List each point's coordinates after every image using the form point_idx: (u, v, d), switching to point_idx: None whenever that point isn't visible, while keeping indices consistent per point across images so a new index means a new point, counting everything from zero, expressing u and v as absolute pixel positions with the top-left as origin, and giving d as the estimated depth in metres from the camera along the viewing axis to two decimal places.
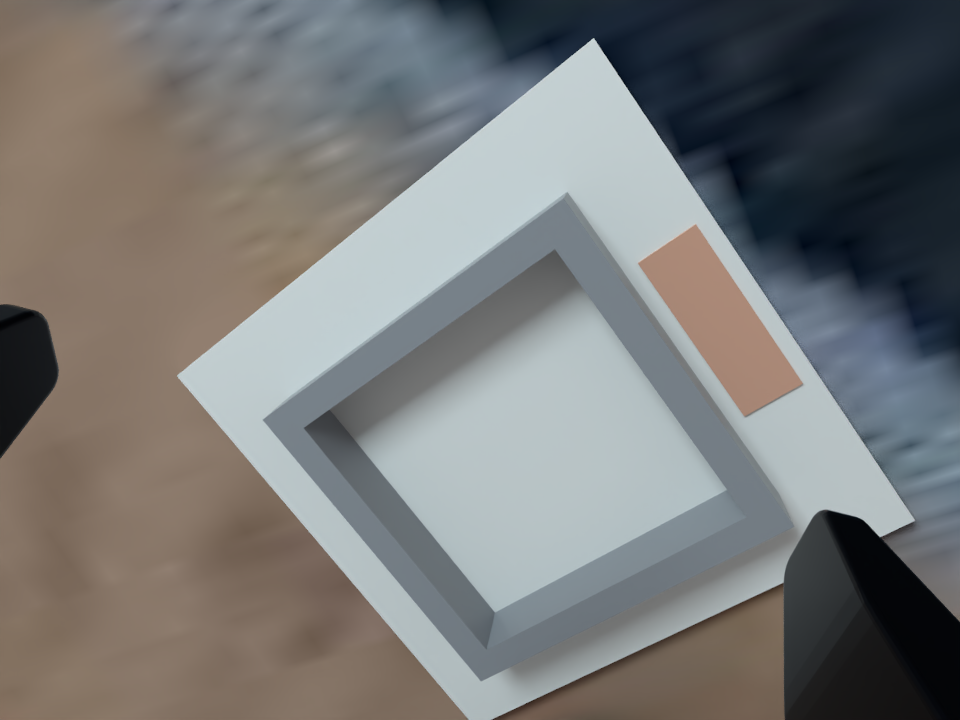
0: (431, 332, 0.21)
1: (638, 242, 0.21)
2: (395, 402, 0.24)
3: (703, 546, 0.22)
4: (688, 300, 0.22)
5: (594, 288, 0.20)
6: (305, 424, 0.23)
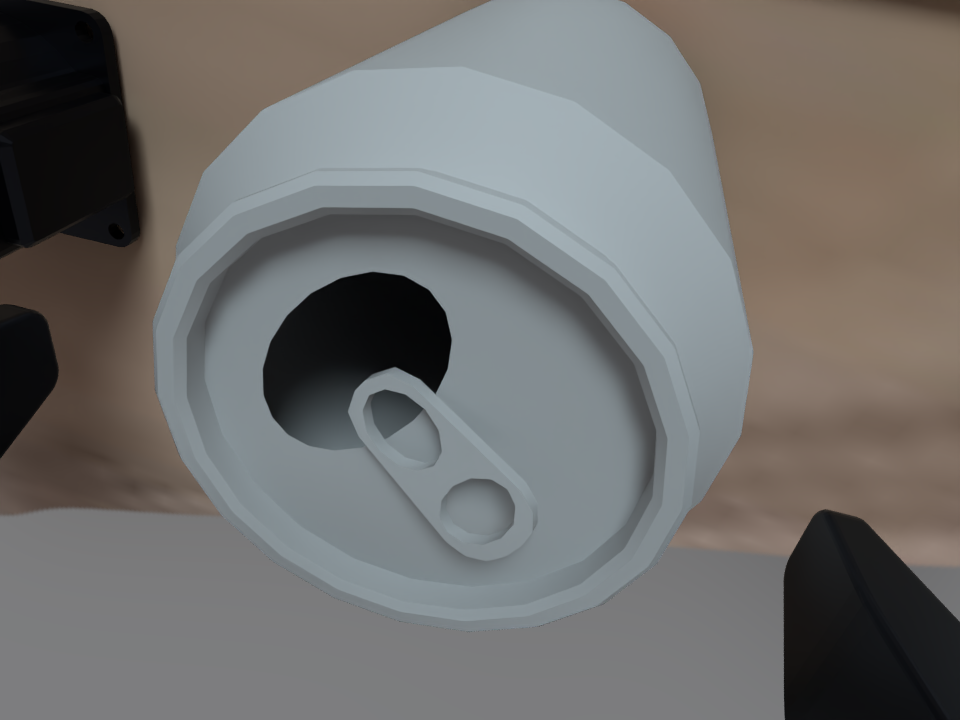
0: None
1: None
2: None
3: None
4: None
5: None
6: None
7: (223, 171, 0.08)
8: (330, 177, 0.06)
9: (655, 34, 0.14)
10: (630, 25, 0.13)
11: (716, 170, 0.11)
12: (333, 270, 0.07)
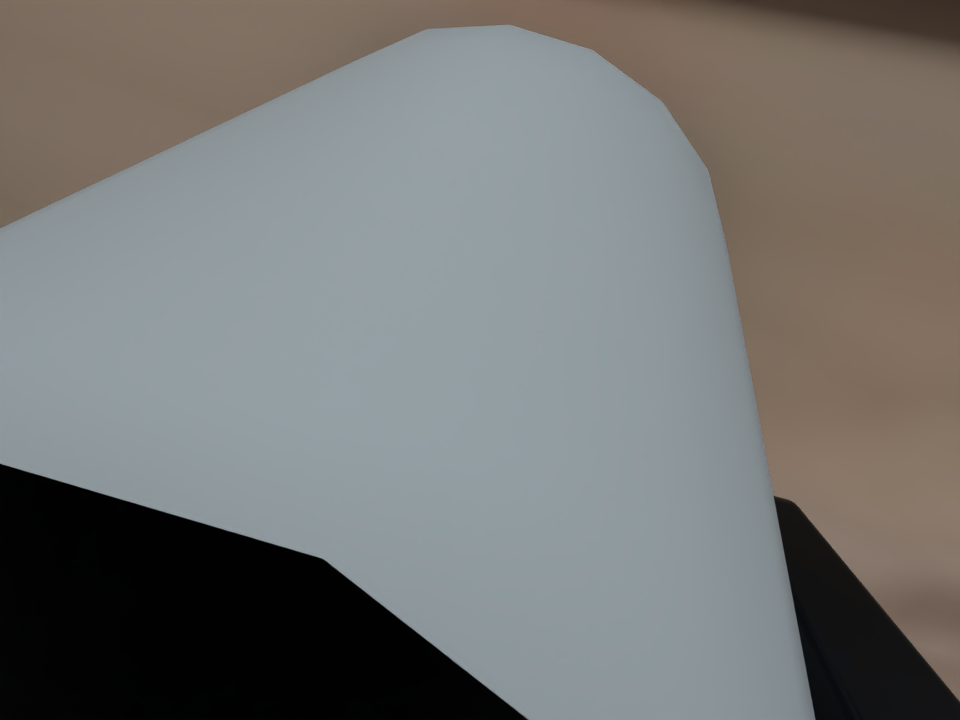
0: None
1: None
2: None
3: None
4: None
5: None
6: None
7: None
8: None
9: (638, 106, 0.09)
10: (594, 100, 0.08)
11: (750, 402, 0.06)
12: None
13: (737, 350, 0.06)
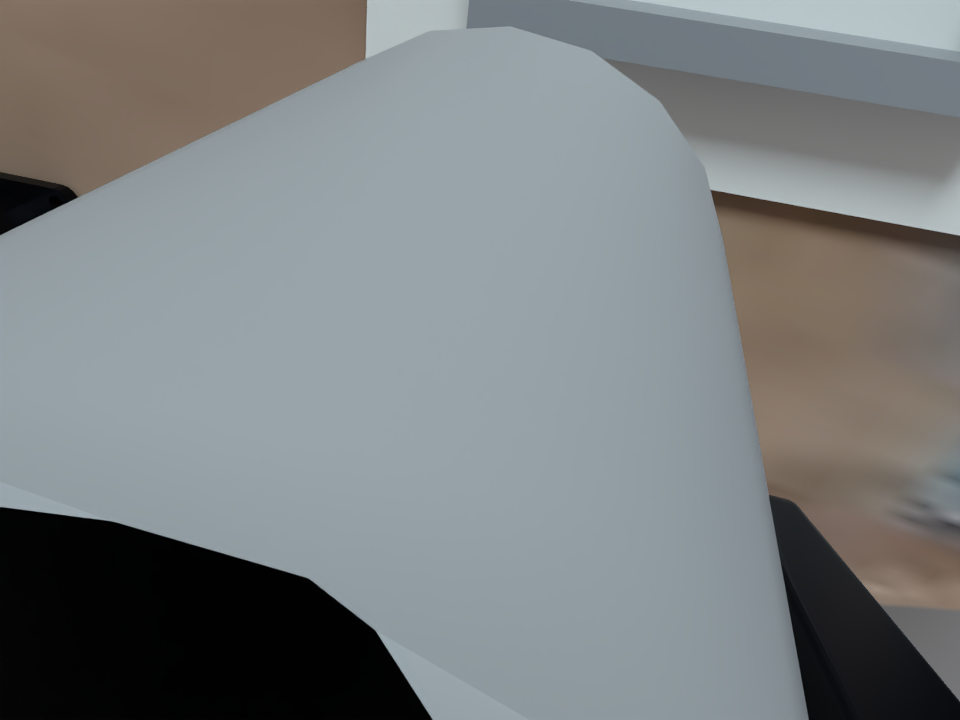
0: None
1: None
2: None
3: (922, 68, 0.14)
4: None
5: None
6: None
7: None
8: None
9: (636, 105, 0.09)
10: (593, 100, 0.08)
11: (743, 389, 0.06)
12: None
13: (730, 339, 0.06)
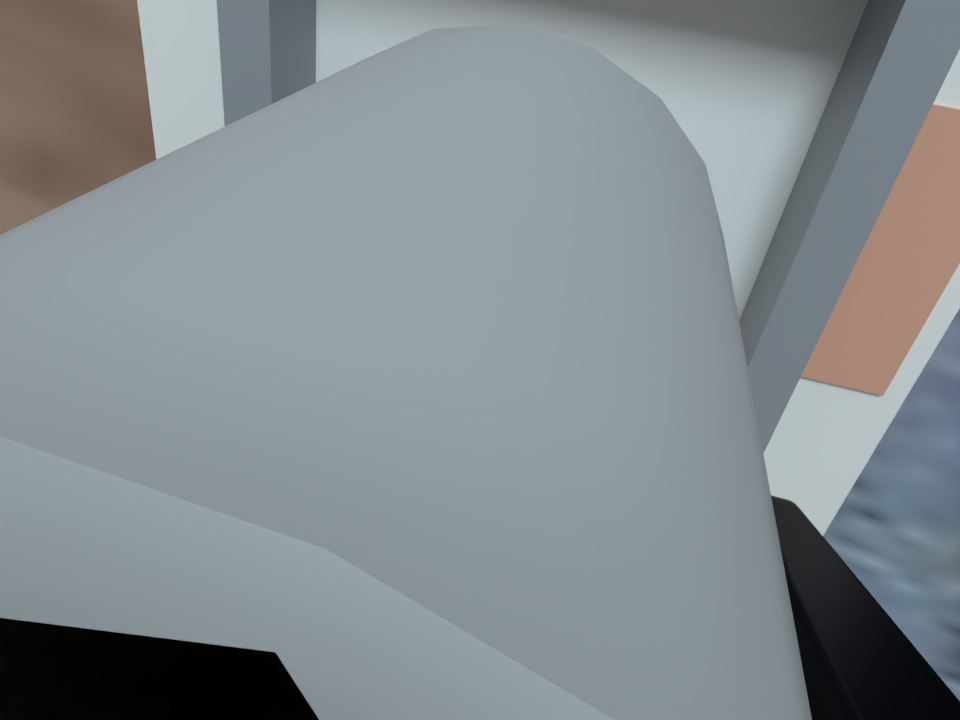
0: None
1: (954, 75, 0.12)
2: None
3: None
4: (904, 206, 0.14)
5: (888, 85, 0.11)
6: None
7: None
8: None
9: (637, 102, 0.09)
10: (595, 96, 0.08)
11: (743, 379, 0.06)
12: None
13: (731, 330, 0.06)
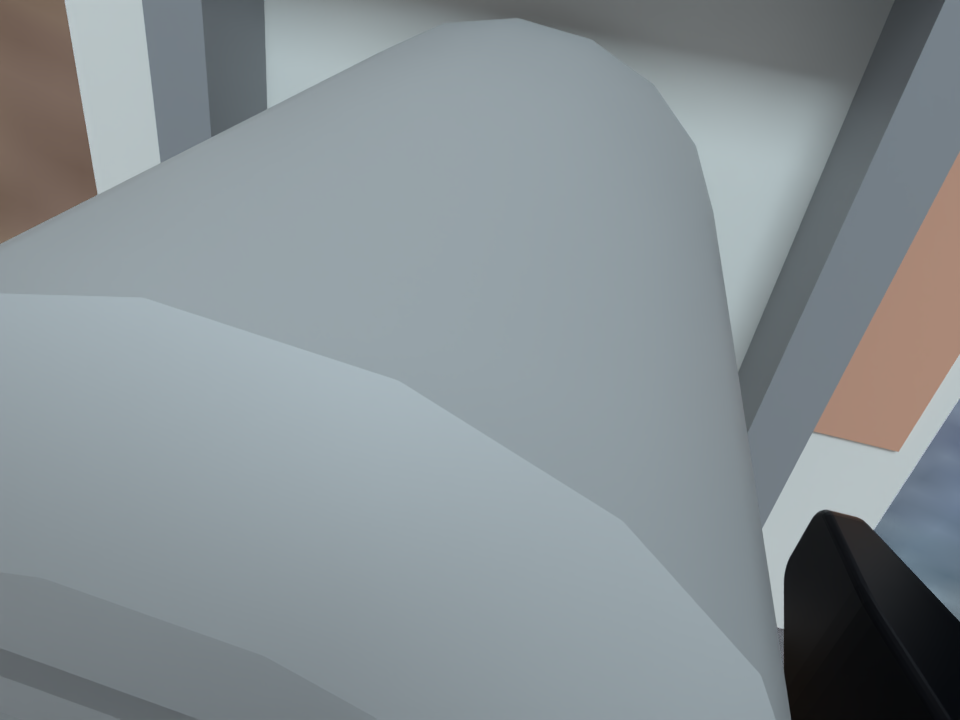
0: None
1: None
2: None
3: None
4: (924, 247, 0.12)
5: (913, 119, 0.09)
6: None
7: None
8: None
9: (632, 87, 0.10)
10: (593, 82, 0.09)
11: (722, 325, 0.07)
12: None
13: (711, 283, 0.07)
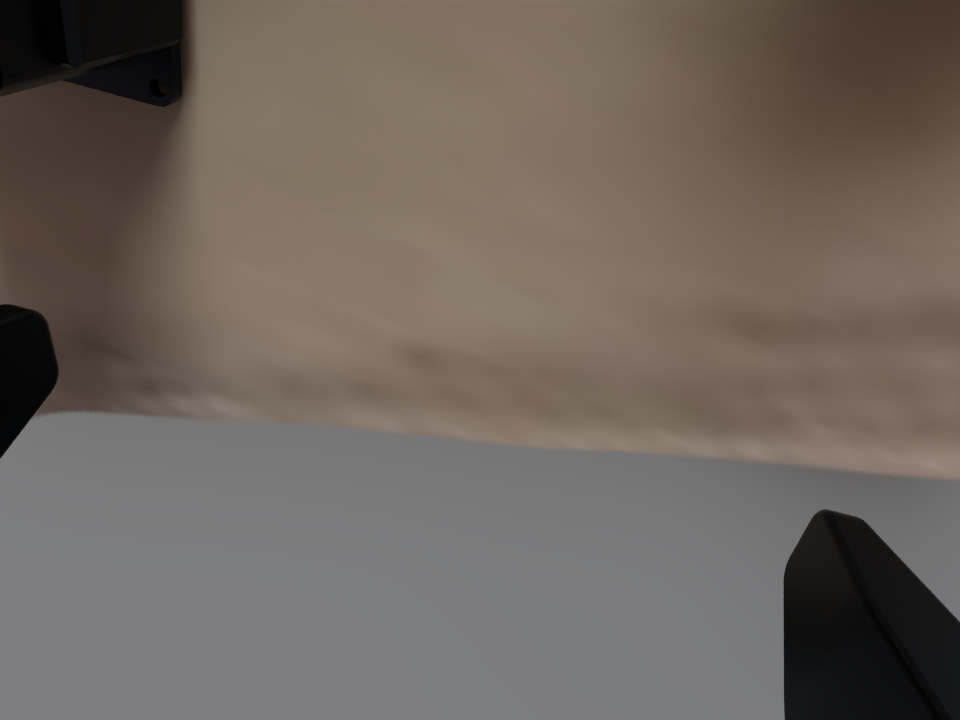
0: None
1: None
2: None
3: None
4: None
5: None
6: None
7: None
8: None
9: None
10: None
11: None
12: None
13: None
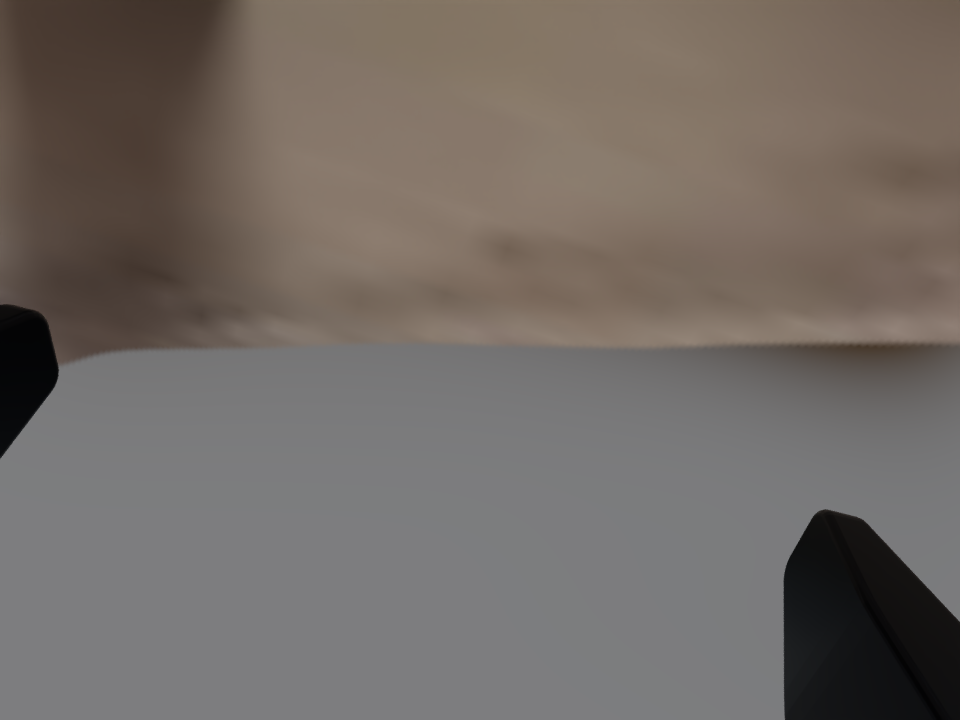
0: None
1: None
2: None
3: None
4: None
5: None
6: None
7: None
8: None
9: None
10: None
11: None
12: None
13: None
